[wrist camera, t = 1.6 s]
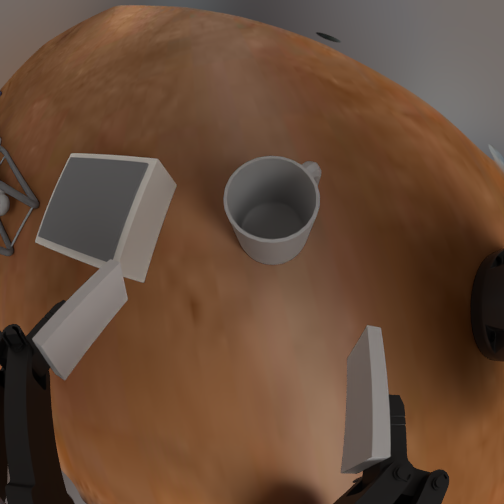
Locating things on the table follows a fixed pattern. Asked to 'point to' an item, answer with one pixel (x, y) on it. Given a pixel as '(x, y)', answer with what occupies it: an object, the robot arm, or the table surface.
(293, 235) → the cup
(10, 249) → the newton's cradle
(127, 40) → the table surface
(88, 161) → the white rectangular block
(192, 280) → the table surface
